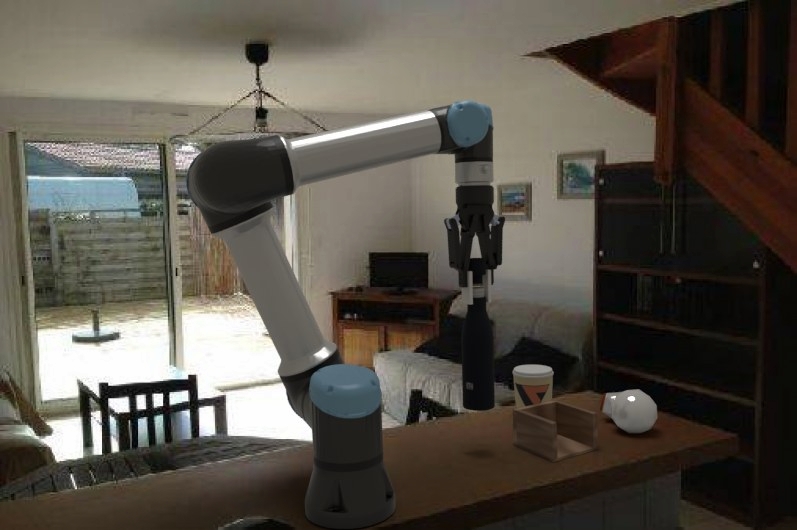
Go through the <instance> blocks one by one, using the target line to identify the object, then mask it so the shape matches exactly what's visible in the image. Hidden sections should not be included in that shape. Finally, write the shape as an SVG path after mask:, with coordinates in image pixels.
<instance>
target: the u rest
mask: <svg viewBox="0 0 797 530" xmlns="http://www.w3.org/2000/svg"><path fill="white" fill-rule="evenodd" d="M598 425H599V424H598V412H595V411H593V410H589V409H587V408H583V407H580V406H577V405H573V404H570V403H568V402H564V401H562V400H558V399H554V400H553V399H552V401H548V402H544V403H539V404H534V405H530V406H525V407H521V408H516V407H515V408H513V409H512V439H513V440H512V443H513V446H515V447H518V448H520V449H522V450H524V451H527V452H529V453H532V454H534V455H535V456H538V457H541V458H542V459H545V460H546V461H549V462H552V463H554V462H559V461H562V460H565V459H570V458H574V457H576V456H579V455H584V454H586V453H591V452H593V451H594V452H595V451H597V450H598V451H599V442H598V441H599V440H598V439H599V438H598V435H599V433H598V432H599V431H598V429H599V427H598Z"/></svg>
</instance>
